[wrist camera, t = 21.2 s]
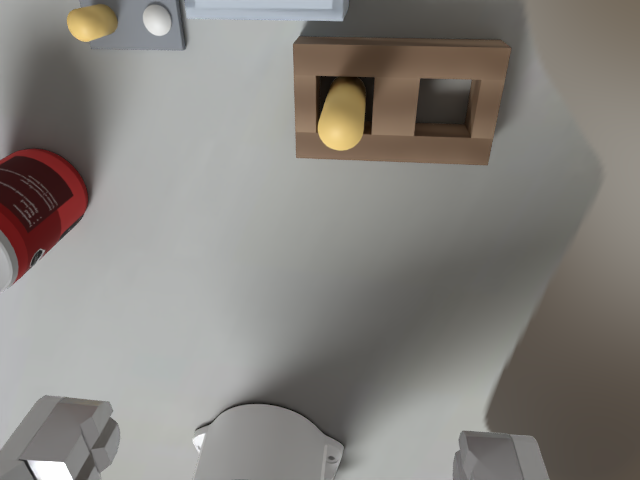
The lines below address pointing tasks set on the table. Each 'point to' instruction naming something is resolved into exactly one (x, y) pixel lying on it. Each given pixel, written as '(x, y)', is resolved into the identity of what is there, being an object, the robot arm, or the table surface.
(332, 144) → the peg
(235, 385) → the table surface
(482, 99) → the socket board
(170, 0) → the plate
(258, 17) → the cover
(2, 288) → the canned food
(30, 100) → the table surface
